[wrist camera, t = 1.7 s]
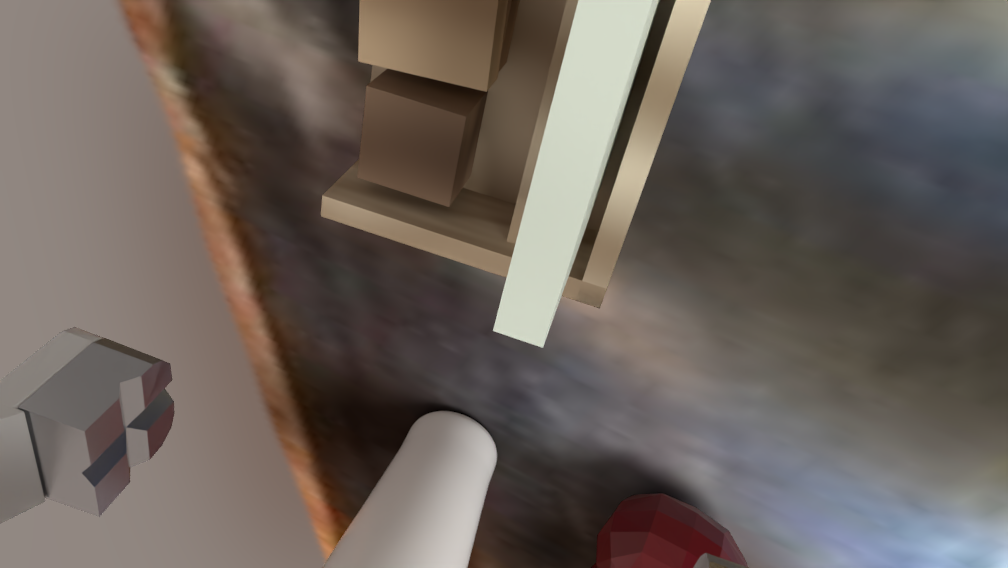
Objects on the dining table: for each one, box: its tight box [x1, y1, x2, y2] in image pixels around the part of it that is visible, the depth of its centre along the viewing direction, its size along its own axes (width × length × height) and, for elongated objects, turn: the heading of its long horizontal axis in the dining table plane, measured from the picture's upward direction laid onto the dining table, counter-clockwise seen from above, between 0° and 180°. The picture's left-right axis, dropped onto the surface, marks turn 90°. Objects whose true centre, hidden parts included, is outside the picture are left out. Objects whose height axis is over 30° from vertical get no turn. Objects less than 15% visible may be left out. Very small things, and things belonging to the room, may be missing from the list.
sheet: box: [493, 0, 661, 348], centre depth 24 cm, size 12×2×11 cm, turn 168°
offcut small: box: [357, 68, 488, 207], centre depth 31 cm, size 4×4×3 cm
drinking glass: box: [322, 411, 497, 568], centre depth 38 cm, size 7×7×15 cm
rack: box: [321, 0, 711, 308], centre depth 28 cm, size 18×12×5 cm, turn 168°
